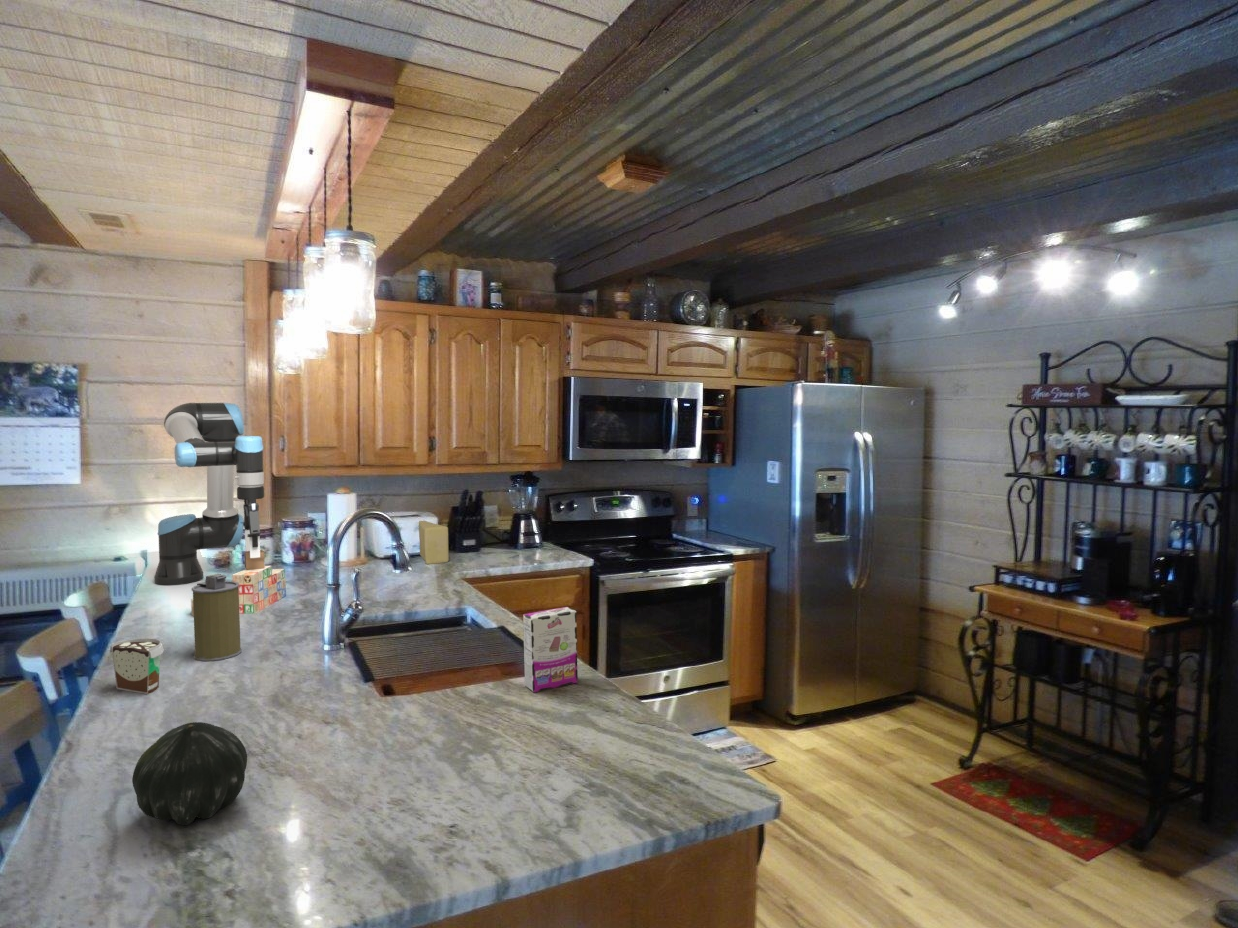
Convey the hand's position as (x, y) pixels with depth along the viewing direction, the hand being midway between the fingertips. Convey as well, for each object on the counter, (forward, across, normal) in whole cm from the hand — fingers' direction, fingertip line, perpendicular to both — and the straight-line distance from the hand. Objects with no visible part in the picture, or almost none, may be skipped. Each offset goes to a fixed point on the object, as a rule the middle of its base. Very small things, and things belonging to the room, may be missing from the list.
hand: (252, 553), depth 227 cm
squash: (+16, +126, -21) cm, 129 cm away
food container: (+16, +62, -28) cm, 70 cm away
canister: (+16, +46, -13) cm, 51 cm away
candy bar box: (+16, +109, +48) cm, 120 cm away
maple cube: (+17, +3, -14) cm, 22 cm away
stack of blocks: (+17, -1, +2) cm, 17 cm away
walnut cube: (+4, 0, 0) cm, 4 cm away
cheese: (+17, -44, +70) cm, 85 cm away
